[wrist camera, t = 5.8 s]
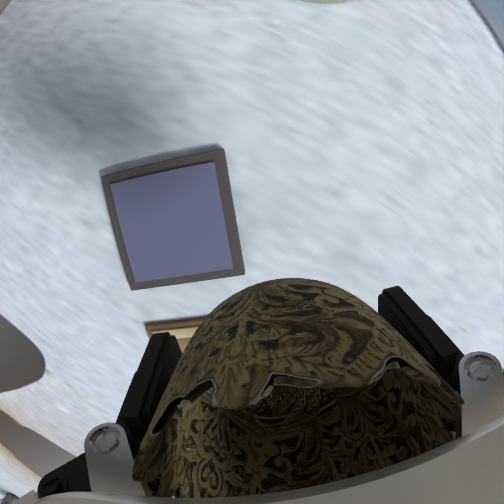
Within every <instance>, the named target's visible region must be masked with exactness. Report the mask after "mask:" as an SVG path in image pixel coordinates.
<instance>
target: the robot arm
mask: <svg viewBox="0 0 504 504" xmlns="http://www.w3.org/2000/svg"><path fill="white" fill-rule="evenodd" d="M304 1H310V2H316V3H341V2H347V1H351V0H304ZM378 314H379V315H381V316H382V317H383V318H384V319H385V320H386V321H387V322H388V323H389V324H390V325H391V326H392V327H393V328H394V329H395V330H396V331H397V332H398V333H399V334H400V335H401V336H403V337H404V338H405V339H406V340H407V341H408V342H409V343H410V344H411V345H412V346H413V347H414V348H415V349H416V350H417V352H418V353H419V354H420V355H421V356H422V357H423V358H424V359H425V360H426V361H427V362H428V363H429V364H430V365H431V366H432V367H433V368H434V369H435V370H436V371H437V372H438V374H440V375H441V376H442V377H443V378H444V379H445V380H446V381H447V382H448V383H449V384H450V385H451V386H452V387H453V388H454V389H455V390H456V391H457V392H458V393H459V394H460V396H461V397H462V398H463V400H464V402H465V405H461V404H460V405H461V407H462V410H461V414H460V416H459V417H458V419H457V420H456V421H454V420H453V419H452V421H451V424H452V426H453V427H454V428H455V429H456V439H455V440H453V441H451V442H449V443H446V444H444V445H442V446H440V447H437V448H435V449H433V450H430V451H428V452H426V453H423V454H421V455H418V456H416V457H413V458H410V459H408V460H405V461H402V462H400V463H397V464H394V465H391V466H388V467H385V468H382V469H379V470H376V471H372V472H369V473H366V474H362V475H359V476H355V477H351V478H348V479H344V480H340V481H335V482H331V483H327V484H322V485H317V486H312V487H307V488H302V489H296V490H290V491H283V492H276V493H269V494H260V495H250V496H238V497H221V498H174V497H172V498H167V497H153V496H152V494H151V490H152V487H153V481H152V482H150V483H147V481H146V480H144V479H142V478H141V477H139V476H138V477H137V478H136V479H135V480H132V469H133V464H134V461H135V458H136V456H137V454H138V451H139V448H140V445H141V442H142V440H143V438H144V436H145V434H146V432H147V430H148V428H149V425H150V423H151V421H152V418H153V416H154V414H155V411H156V409H157V407H158V405H159V402H160V400H161V398H162V396H163V393H164V391H165V389H166V387H167V385H168V382H169V380H170V378H171V376H172V374H173V372H174V370H175V367H176V365H177V363H178V361H179V359H180V357H181V355H182V351H181V349H180V346H179V344H178V341H177V339H176V337H175V335H170V333H169V332H162V333H154V334H152V336H151V338H150V340H149V343H148V345H147V348H146V350H145V353H144V355H143V357H142V360H141V362H140V365H139V367H138V370H137V372H136V373H135V374H134V376H133V379H132V382H131V384H130V387H129V389H128V392H127V394H126V397H125V399H124V402H123V405H122V407H121V410H120V413H119V415H118V418H117V421H116V423H104V424H101V425H98V426H96V427H95V428H93V429H92V430H91V431H90V432H89V433H88V435H87V436H86V439H85V443H84V448H85V452H84V453H83V454H81V455H79V456H78V457H76V458H74V459H73V460H71V461H69V462H67V463H66V464H64V465H62V466H61V467H59V468H57V469H55V470H53V471H52V472H50V473H48V474H47V475H45V476H44V477H43V478H42V479H41V481H40V483H39V485H38V491H37V492H35V491H34V490H32V491H31V492H29V493H27V494H26V495H24V496H23V497H21V498H19V499H18V500H16V501H14V502H13V503H11V504H504V372H503V371H502V367H501V364H500V362H499V360H498V359H497V358H496V357H495V356H493V355H492V354H490V353H486V352H480V351H477V352H471V353H469V354H467V355H465V356H464V354H463V353H462V352H461V351H460V350H459V349H458V347H457V346H456V345H455V344H454V343H453V342H452V341H451V339H450V338H449V337H448V336H447V335H446V334H445V333H444V332H443V331H442V329H441V328H440V327H439V326H438V325H437V324H436V323H435V322H434V321H433V320H432V318H431V317H429V316H428V315H426V314H425V313H424V312H423V311H422V310H421V308H420V307H419V306H418V305H417V304H416V303H415V302H414V301H413V300H412V299H411V298H410V297H409V296H408V295H407V294H406V293H405V292H404V291H403V290H402V288H401V287H399V286H395V287H391V288H387V289H384V290H383V292H382V294H380V295H379V296H378Z"/></svg>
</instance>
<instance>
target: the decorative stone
mask: <svg viewBox="0 0 504 504" xmlns="http://www.w3.org/2000/svg"><path fill="white" fill-rule="evenodd" d="M18 499H19V498H18V497H17V496H15V495H13V494H7V495H6V496H5V497H4V498H3V499H2V503H1V504H11V503H13V502H14V501H16V500H18Z"/></svg>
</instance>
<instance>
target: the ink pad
mask: <svg viewBox="0 0 504 504" xmlns="http://www.w3.org/2000/svg"><path fill="white" fill-rule="evenodd" d="M101 178H102V183H103V188H104V193H105V197H106V201H107V206H108V210H109V214H110V218H111V222H112V226H113V230H114V234H115V238H116V242H117V245H118V249H119V252H120V256H121V259H122V263H123V266H124V270H125V273H126V276H127V279H128V283H129V286H130V289H131V290H139V289H147V288H154V287H161V286H169V285H176V284H183V283H190V282H197V281H205V280H211V279H218V278H225V277H232V276H239V275H245V269H244V263H243V257H242V251H241V246H240V240H239V234H238V228H237V222H236V216H235V210H234V205H233V199H232V193H231V187H230V181H229V175H228V169H227V163H226V157H225V151H224V149H222V150H216V151H211V152H205V153H200V154H195V155H190V156H185V157H180V158H175V159H171V160H166V161H161V162H157V163H153V164H148V165H144V166H140V167H136V168H132V169H128V170H124V171H120V172H116V173H113V174H109V175H105V176H102V177H101Z"/></svg>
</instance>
